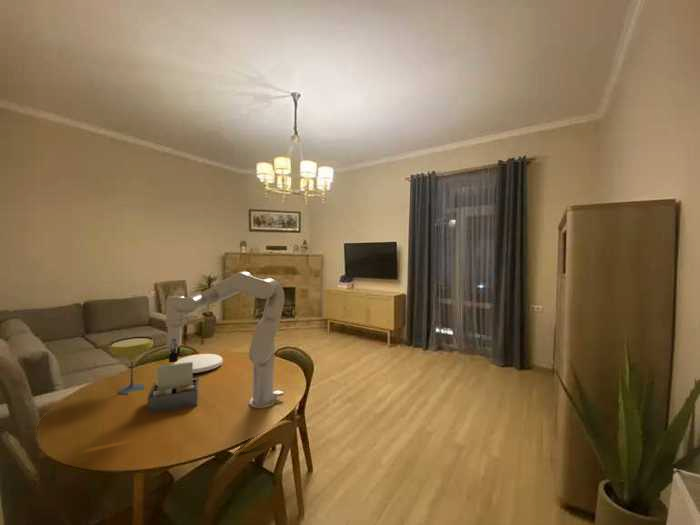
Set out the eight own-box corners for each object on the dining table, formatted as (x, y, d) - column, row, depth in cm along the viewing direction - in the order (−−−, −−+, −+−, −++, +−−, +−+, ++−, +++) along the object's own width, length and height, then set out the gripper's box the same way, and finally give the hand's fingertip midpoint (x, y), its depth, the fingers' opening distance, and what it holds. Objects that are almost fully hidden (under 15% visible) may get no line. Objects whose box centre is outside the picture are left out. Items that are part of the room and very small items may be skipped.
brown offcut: (172, 405, 132) (172, 388, 132) (171, 408, 129) (171, 391, 129) (153, 408, 129) (153, 390, 129) (152, 411, 126) (152, 393, 126)
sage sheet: (192, 398, 139) (192, 361, 138) (192, 399, 137) (192, 362, 137) (157, 404, 133) (158, 365, 132) (157, 405, 131) (157, 366, 131)
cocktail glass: (144, 395, 142) (145, 345, 141) (101, 400, 137) (101, 348, 136) (158, 380, 159) (158, 335, 159) (119, 383, 154) (119, 337, 154)
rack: (198, 394, 145) (198, 376, 145) (197, 407, 132) (197, 388, 132) (153, 401, 137) (153, 383, 136) (147, 416, 124) (147, 396, 124)
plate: (196, 350, 195) (231, 354, 189) (196, 360, 194) (231, 364, 189) (162, 361, 167) (202, 366, 162) (161, 372, 167) (201, 377, 161)
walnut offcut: (194, 401, 136) (194, 384, 136) (193, 404, 133) (193, 387, 133) (177, 404, 133) (177, 387, 133) (176, 407, 130) (176, 390, 130)
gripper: (168, 318, 140) (167, 353, 141) (163, 327, 125) (162, 366, 125) (186, 317, 143) (185, 351, 144) (183, 326, 128) (181, 363, 128)
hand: (174, 358), depth 134 cm, fingers open, 9 cm apart
